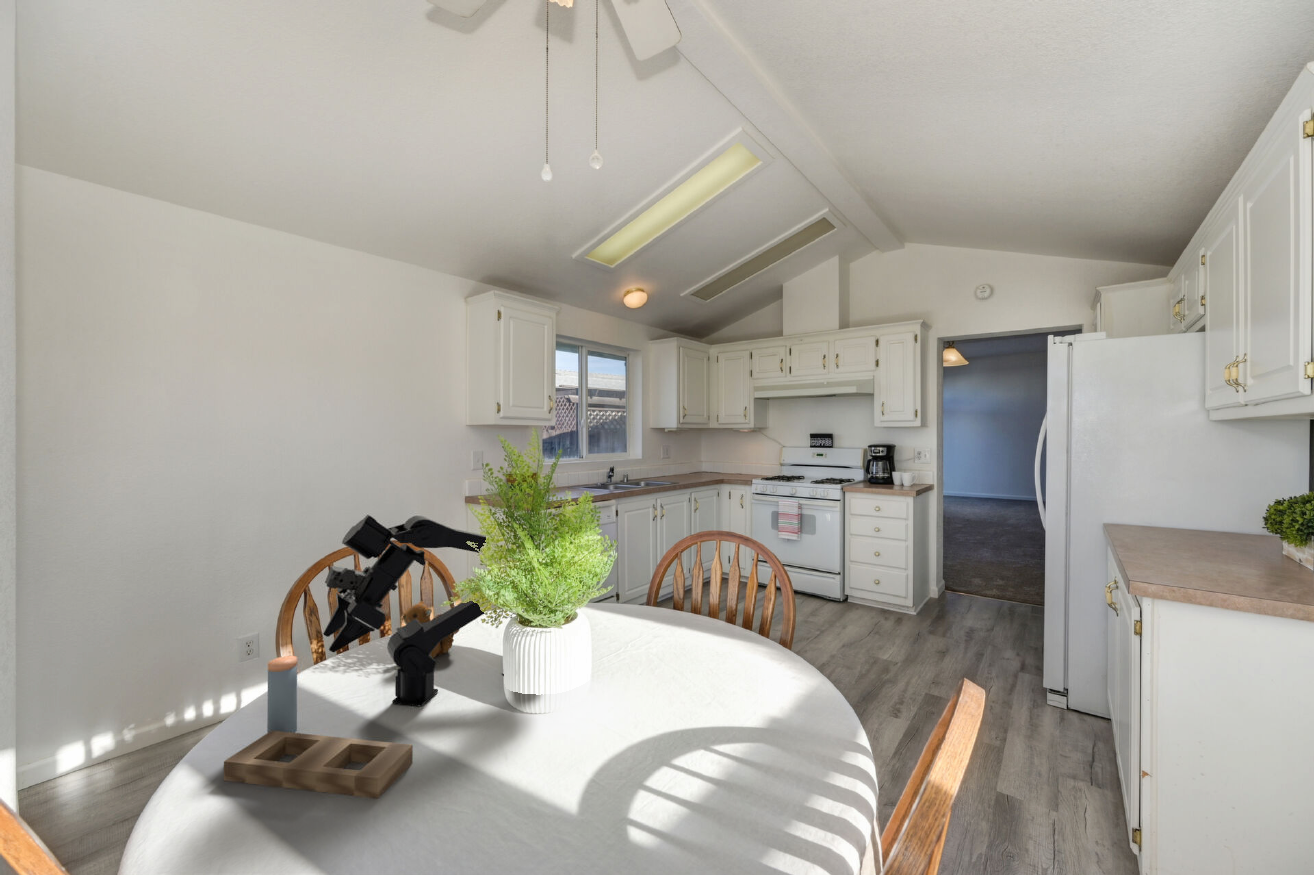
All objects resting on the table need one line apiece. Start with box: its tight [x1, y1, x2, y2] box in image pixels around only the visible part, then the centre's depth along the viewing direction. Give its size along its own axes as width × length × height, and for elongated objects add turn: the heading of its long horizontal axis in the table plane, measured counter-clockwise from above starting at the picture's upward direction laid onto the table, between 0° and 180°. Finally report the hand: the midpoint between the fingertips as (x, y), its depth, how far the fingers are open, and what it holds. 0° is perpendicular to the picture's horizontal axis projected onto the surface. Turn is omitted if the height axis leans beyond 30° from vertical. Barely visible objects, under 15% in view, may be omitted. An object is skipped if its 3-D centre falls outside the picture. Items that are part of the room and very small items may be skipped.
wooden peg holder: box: [223, 731, 414, 799], centre depth 89 cm, size 26×9×3 cm, turn 82°
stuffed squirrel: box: [396, 600, 461, 659], centre depth 135 cm, size 10×14×13 cm
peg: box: [266, 655, 298, 734], centre depth 100 cm, size 4×4×13 cm
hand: (328, 643), depth 105 cm, fingers open, 9 cm apart
